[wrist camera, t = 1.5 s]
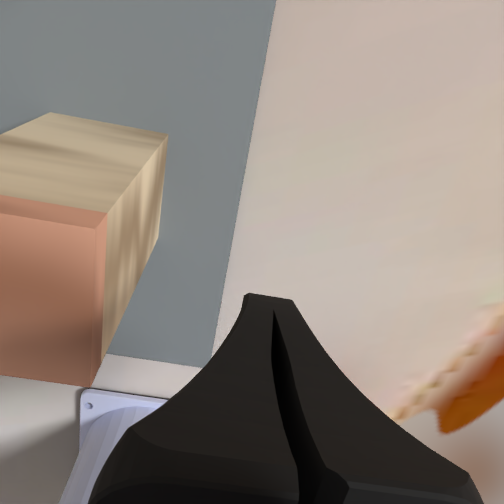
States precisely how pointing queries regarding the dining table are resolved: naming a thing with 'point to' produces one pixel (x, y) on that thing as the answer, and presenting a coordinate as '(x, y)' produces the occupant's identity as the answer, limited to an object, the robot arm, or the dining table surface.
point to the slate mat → (159, 120)
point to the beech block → (72, 240)
